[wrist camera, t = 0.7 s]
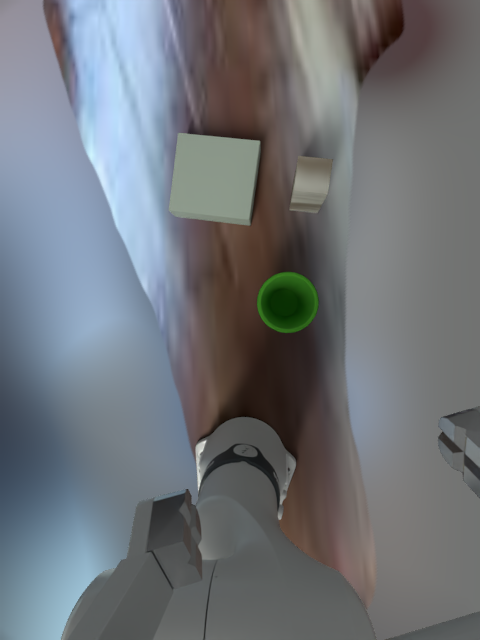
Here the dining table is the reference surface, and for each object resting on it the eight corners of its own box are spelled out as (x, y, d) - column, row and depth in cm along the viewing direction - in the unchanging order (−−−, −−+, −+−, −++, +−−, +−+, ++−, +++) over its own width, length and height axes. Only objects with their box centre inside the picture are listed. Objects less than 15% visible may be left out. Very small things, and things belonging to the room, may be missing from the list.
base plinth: (250, 225, 58) (249, 219, 54) (175, 216, 59) (168, 210, 55) (260, 152, 57) (260, 140, 53) (184, 144, 58) (178, 132, 54)
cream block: (317, 213, 57) (327, 194, 47) (289, 210, 57) (293, 190, 47) (321, 184, 56) (332, 159, 47) (293, 181, 57) (298, 155, 47)
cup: (250, 311, 59) (245, 313, 48) (275, 268, 58) (276, 260, 47) (292, 336, 58) (298, 344, 47) (318, 293, 57) (330, 291, 46)
